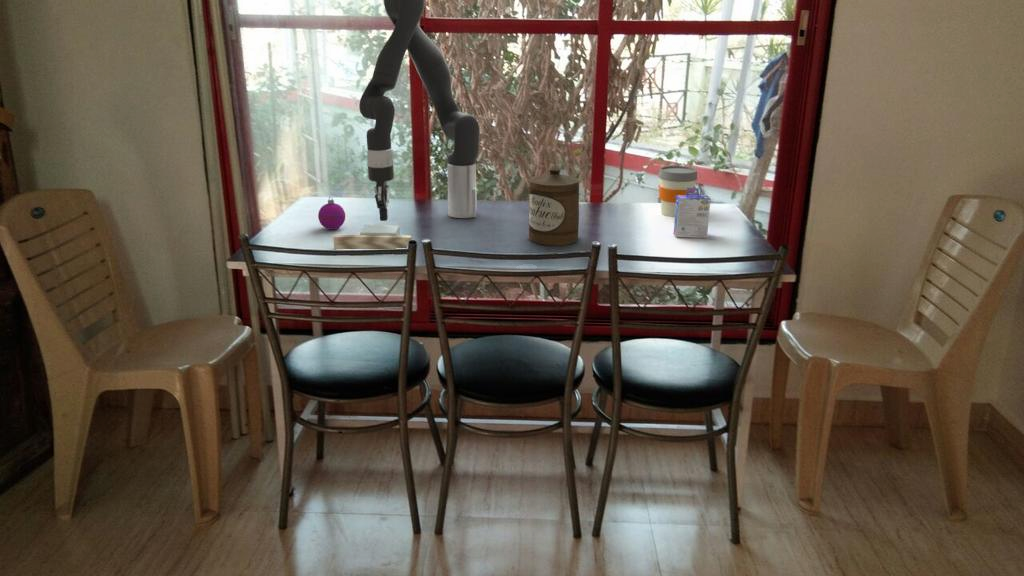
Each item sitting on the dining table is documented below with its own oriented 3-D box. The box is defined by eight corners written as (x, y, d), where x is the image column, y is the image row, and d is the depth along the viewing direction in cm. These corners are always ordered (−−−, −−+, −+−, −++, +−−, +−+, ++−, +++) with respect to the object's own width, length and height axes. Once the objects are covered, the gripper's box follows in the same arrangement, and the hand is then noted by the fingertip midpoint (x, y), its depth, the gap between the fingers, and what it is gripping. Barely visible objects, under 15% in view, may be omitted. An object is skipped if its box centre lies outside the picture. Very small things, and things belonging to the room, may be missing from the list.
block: (399, 241, 247) (399, 225, 245) (396, 249, 239) (395, 232, 238) (366, 241, 247) (365, 224, 245) (361, 249, 239) (360, 232, 238)
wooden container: (518, 239, 250) (519, 166, 242) (549, 229, 260) (551, 159, 253) (557, 249, 241) (559, 174, 233) (587, 238, 251) (591, 166, 244)
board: (412, 248, 239) (411, 235, 238) (411, 251, 237) (410, 237, 236) (335, 248, 239) (334, 234, 238) (334, 250, 237) (333, 236, 236)
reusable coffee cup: (648, 212, 280) (651, 168, 275) (673, 207, 288) (677, 164, 283) (676, 220, 271) (679, 175, 266) (701, 214, 278) (705, 170, 273)
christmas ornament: (316, 232, 254) (313, 200, 251) (323, 225, 262) (321, 193, 259) (342, 232, 254) (340, 200, 251) (348, 225, 262) (347, 194, 258)
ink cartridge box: (704, 233, 258) (708, 187, 253) (708, 238, 252) (712, 191, 247) (672, 232, 258) (675, 186, 253) (675, 238, 252) (679, 191, 247)
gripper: (390, 168, 241) (393, 226, 247) (395, 159, 253) (399, 214, 259) (364, 168, 241) (368, 226, 247) (371, 159, 253) (374, 214, 259)
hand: (384, 220), depth 253 cm, fingers closed
